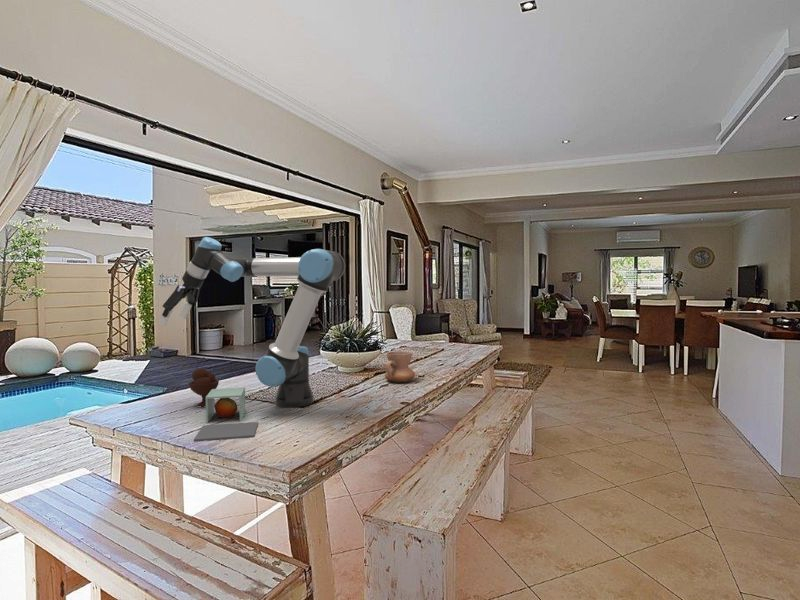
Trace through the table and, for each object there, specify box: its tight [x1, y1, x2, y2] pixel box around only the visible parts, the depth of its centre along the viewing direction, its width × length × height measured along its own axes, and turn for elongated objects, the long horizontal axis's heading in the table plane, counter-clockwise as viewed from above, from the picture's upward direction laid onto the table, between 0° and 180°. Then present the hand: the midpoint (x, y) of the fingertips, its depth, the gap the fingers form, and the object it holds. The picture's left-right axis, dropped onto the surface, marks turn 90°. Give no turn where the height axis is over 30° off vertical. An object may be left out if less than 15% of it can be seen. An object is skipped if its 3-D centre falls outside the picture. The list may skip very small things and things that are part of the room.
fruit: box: [214, 397, 239, 419], centre depth 170 cm, size 8×8×8 cm
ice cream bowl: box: [188, 367, 220, 408], centre depth 185 cm, size 11×11×15 cm
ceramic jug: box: [384, 350, 416, 384], centre depth 226 cm, size 18×14×14 cm
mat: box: [193, 421, 259, 442], centre depth 154 cm, size 18×14×1 cm
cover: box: [205, 386, 247, 423], centre depth 170 cm, size 12×12×9 cm
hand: (172, 320), depth 186 cm, fingers open, 13 cm apart
